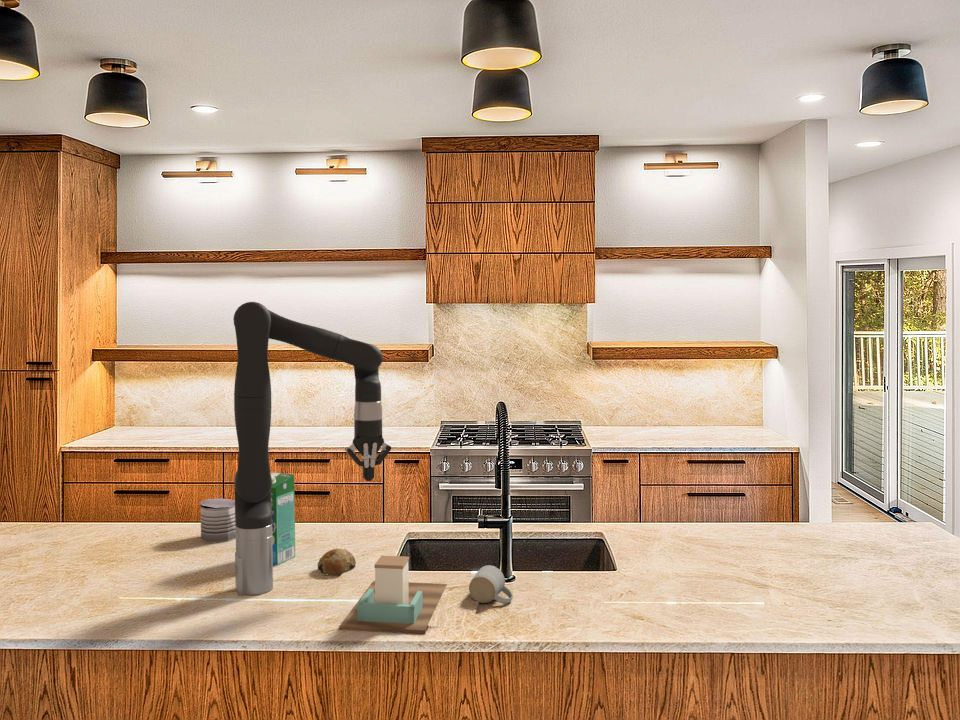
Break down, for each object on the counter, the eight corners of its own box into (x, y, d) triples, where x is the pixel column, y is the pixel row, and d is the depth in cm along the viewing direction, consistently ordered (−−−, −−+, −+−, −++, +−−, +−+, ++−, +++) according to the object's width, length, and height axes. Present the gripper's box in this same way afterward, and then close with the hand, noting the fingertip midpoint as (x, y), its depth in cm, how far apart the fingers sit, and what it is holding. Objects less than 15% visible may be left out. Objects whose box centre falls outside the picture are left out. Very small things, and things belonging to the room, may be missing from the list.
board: (373, 583, 205) (373, 580, 205) (446, 587, 203) (446, 584, 203) (339, 629, 176) (339, 625, 175) (425, 633, 173) (425, 630, 173)
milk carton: (251, 562, 223) (249, 477, 221) (270, 553, 231) (269, 471, 230) (276, 566, 219) (275, 480, 218) (295, 556, 228) (294, 473, 226)
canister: (381, 606, 187) (381, 555, 186) (409, 608, 186) (408, 556, 185) (374, 617, 180) (374, 564, 179) (403, 619, 179) (402, 565, 179)
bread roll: (341, 590, 211) (352, 565, 209) (309, 572, 212) (320, 547, 211) (353, 578, 220) (364, 554, 219) (323, 561, 222) (334, 537, 221)
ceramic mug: (466, 603, 192) (467, 573, 191) (477, 591, 199) (477, 563, 199) (507, 609, 188) (508, 578, 188) (516, 597, 196) (517, 567, 196)
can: (211, 532, 253) (210, 496, 252) (244, 533, 252) (243, 497, 251) (193, 542, 242) (193, 505, 241) (227, 544, 240) (227, 506, 240)
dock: (369, 604, 188) (369, 588, 188) (422, 607, 187) (422, 591, 187) (357, 620, 178) (357, 604, 178) (413, 623, 177) (413, 606, 176)
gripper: (347, 420, 201) (347, 485, 202) (395, 418, 206) (395, 481, 207) (340, 417, 208) (341, 479, 209) (387, 414, 213) (388, 476, 214)
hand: (368, 480), depth 208 cm, fingers closed
